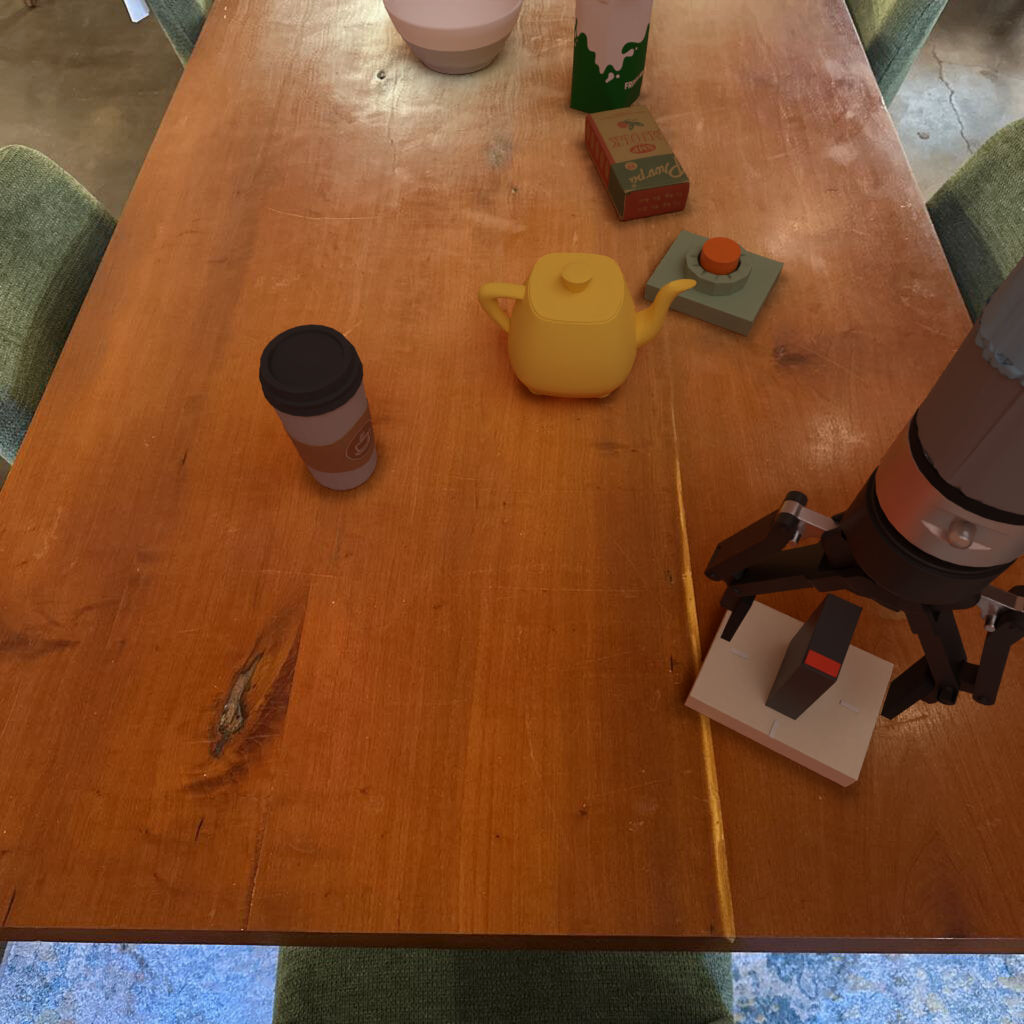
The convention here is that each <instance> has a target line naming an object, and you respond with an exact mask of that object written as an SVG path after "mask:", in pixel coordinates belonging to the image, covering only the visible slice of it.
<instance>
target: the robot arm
mask: <svg viewBox="0 0 1024 1024" xmlns="http://www.w3.org/2000/svg"><path fill="white" fill-rule="evenodd" d="M887 449H888V450H887V451H886V452H885V454H884V455H883V456H882V457H881V459H880V461H879V464H878V465H877V466H876V467H875V469H874V470H873V471H872V472H871V474H870V476H869V477H868V478H867V480H866V481H865V483H864V484H863V486H862V487H861V489H859V492H858V493H857V495H856V496H855V497H854V499H853V500H852V501H851V503H850V505H849V506H848V507H847V509H845V510H843V511H841V512H838V513H836V514H833V515H832V516H827V515H825V514H823V513H820V512H818V511H815V510H813V509H811V508H808V507H807V505H808V502H809V497H808V496H807V495H806V494H805V493H804V492H802V491H799V490H790V491H788V492H787V493H786V495H785V497H784V498H783V500H782V503H781V504H780V506H779V508H777V509H775V510H774V511H772V512H769V514H767V515H765V516H762V517H761V518H760V519H758V520H756V521H754V522H752V523H751V524H749V525H748V526H746V527H743V528H742V529H740V530H739V531H737V532H735V533H734V534H731V535H730V536H728V537H726V538H725V539H723V540H721V541H720V542H718V543H717V544H716V547H715V549H714V551H713V553H712V555H711V557H710V559H709V561H708V563H707V565H706V567H705V570H703V571H704V572H703V574H704V576H705V577H706V578H707V579H709V580H711V581H713V582H721V581H722V582H724V583H725V585H726V587H725V590H724V592H723V595H722V596H721V599H720V601H719V605H720V607H721V608H723V609H726V611H727V610H729V611H731V612H732V613H731V615H730V617H729V619H728V621H727V624H726V626H725V628H724V630H723V632H722V635H721V637H720V638H722V639H724V640H726V641H728V642H730V641H731V639H732V638H733V636H734V634H735V633H736V631H737V629H738V628H739V626H740V624H741V623H742V621H743V619H744V618H745V616H746V615H747V613H748V611H749V610H750V608H751V606H752V604H753V602H754V600H756V597H757V596H761V595H767V594H775V593H781V592H789V591H797V590H803V589H811V588H815V589H816V591H817V592H819V593H830V592H836V591H843V590H845V591H847V592H850V593H852V594H854V595H857V596H859V597H863V598H866V599H869V600H872V601H873V602H875V603H877V604H878V605H880V606H882V607H884V608H886V609H888V610H890V611H893V612H894V613H897V614H898V613H900V612H902V613H904V615H905V618H906V621H907V623H908V625H909V629H910V631H911V634H912V635H917V637H918V640H919V642H920V645H921V648H922V650H923V653H924V655H923V656H922V657H920V658H919V659H918V660H917V661H915V662H914V663H913V664H912V665H910V666H909V667H908V668H906V670H904V671H903V672H902V673H900V674H899V675H898V676H896V677H895V678H894V679H893V680H891V682H889V686H888V688H887V689H888V690H887V691H886V692H887V693H886V696H885V699H884V701H883V705H882V708H881V710H880V711H881V712H880V713H879V714H880V716H881V717H884V718H885V719H888V720H890V721H892V720H893V719H895V718H897V717H898V716H899V715H901V714H902V713H904V712H905V711H906V710H908V709H909V708H911V707H913V705H914V704H917V703H918V702H920V701H921V702H924V703H926V704H928V705H931V704H936V703H940V704H942V705H946V706H955V705H956V704H957V700H958V697H959V693H960V692H965V693H967V694H971V699H972V700H973V702H975V703H977V704H980V705H982V706H987V707H988V706H994V705H995V703H996V700H997V697H998V694H999V691H1000V687H1001V682H1002V680H1003V676H1004V671H1005V668H1006V664H1007V661H1008V657H1009V655H1010V654H1009V653H1010V650H1011V647H1012V646H1013V645H1015V644H1016V643H1018V642H1019V641H1020V640H1022V639H1023V638H1024V584H1018V585H1014V586H1012V587H1011V588H1009V590H1005V589H1002V588H999V587H997V586H995V585H992V582H994V581H995V580H996V579H997V578H999V576H1001V575H1002V574H1003V573H1004V572H1006V571H1007V570H1008V569H1009V568H1010V567H1011V566H1012V565H1014V564H1015V563H1016V561H1018V559H1019V557H1022V556H1023V555H1024V255H1023V256H1022V257H1021V259H1020V260H1019V261H1018V262H1017V264H1015V266H1014V267H1013V269H1012V270H1011V271H1010V273H1009V274H1008V275H1007V276H1006V278H1005V279H1004V280H1003V282H1002V283H1000V284H999V285H998V286H997V287H996V288H995V289H994V290H993V291H992V292H991V293H990V294H989V295H988V297H987V298H986V300H985V301H984V302H983V306H982V308H981V312H980V315H979V316H978V318H977V319H976V321H975V323H974V324H973V326H972V327H971V328H970V330H969V331H968V333H967V334H966V336H965V338H964V339H963V341H962V343H961V344H960V346H959V347H958V348H957V350H956V351H955V353H954V355H953V356H952V358H951V359H950V360H949V362H948V364H947V365H946V367H945V369H944V370H943V372H941V374H940V376H939V377H938V378H937V380H936V382H935V384H934V385H933V386H932V388H931V389H930V391H929V392H928V394H927V395H926V397H925V398H924V400H923V401H922V402H921V404H919V406H918V407H917V408H916V410H915V411H914V413H913V414H912V416H911V417H910V418H909V419H908V420H907V423H906V424H905V425H904V427H903V428H902V430H901V431H900V432H899V434H897V437H896V438H895V439H894V441H893V442H892V444H891V445H890V446H889V448H887ZM808 538H817V539H819V540H818V542H816V543H813V544H808V545H803V546H798V545H799V543H800V541H804V540H806V539H808ZM788 545H789V546H791V547H792V548H787V549H785V548H786V547H787V546H788ZM975 606H976V607H978V608H979V609H980V614H979V616H980V618H981V620H983V621H984V625H983V629H984V630H985V631H986V634H985V640H984V643H983V646H982V651H981V656H980V660H979V664H976V663H972V662H968V655H967V651H966V650H965V649H966V648H965V646H964V642H963V640H962V636H961V633H960V630H959V626H958V624H957V621H956V618H955V614H954V611H959V610H968V609H972V608H973V607H975Z"/></svg>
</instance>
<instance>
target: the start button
mask: <svg viewBox="0 0 1024 1024" xmlns="http://www.w3.org/2000/svg"><path fill="white" fill-rule="evenodd" d="M737 243H738V242H736V240H733V239H732V238H729V237H724V236H716V237H711V238H709V240H707V241H706V242H705V243H704V245H703V248H702V252H701V256H700V264H701V266H702V268H703V269H704V270H705V271H707V272H709V273H712V274H715V275H727V274H730V273H732V272H733V271H734V270H735V269H736V268H737V265H738V262H739V258H740V255H741V249H740V246H739V245H738V244H739V243H738V244H737Z"/></svg>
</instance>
